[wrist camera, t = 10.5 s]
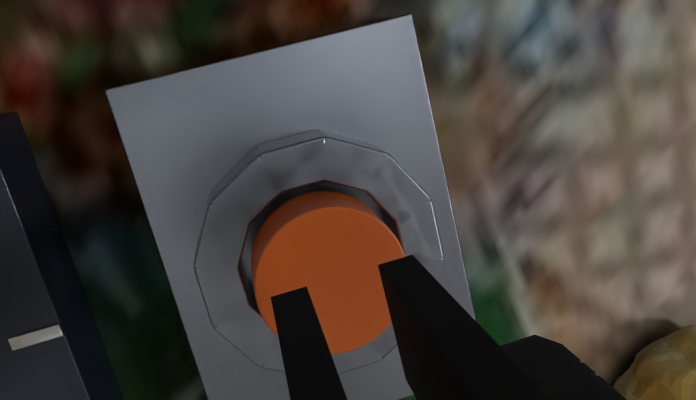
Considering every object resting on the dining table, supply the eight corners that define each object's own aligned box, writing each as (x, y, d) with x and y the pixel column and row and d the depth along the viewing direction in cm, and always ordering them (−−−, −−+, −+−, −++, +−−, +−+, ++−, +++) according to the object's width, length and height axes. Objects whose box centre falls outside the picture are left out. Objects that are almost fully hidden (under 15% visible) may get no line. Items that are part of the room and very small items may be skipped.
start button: (233, 212, 18) (235, 231, 16) (372, 174, 18) (389, 187, 17) (272, 341, 19) (277, 374, 17) (402, 301, 20) (422, 329, 18)
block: (116, 86, 20) (91, 93, 16) (393, 17, 21) (430, 8, 17) (226, 420, 23) (226, 492, 19) (464, 344, 24) (509, 398, 20)
